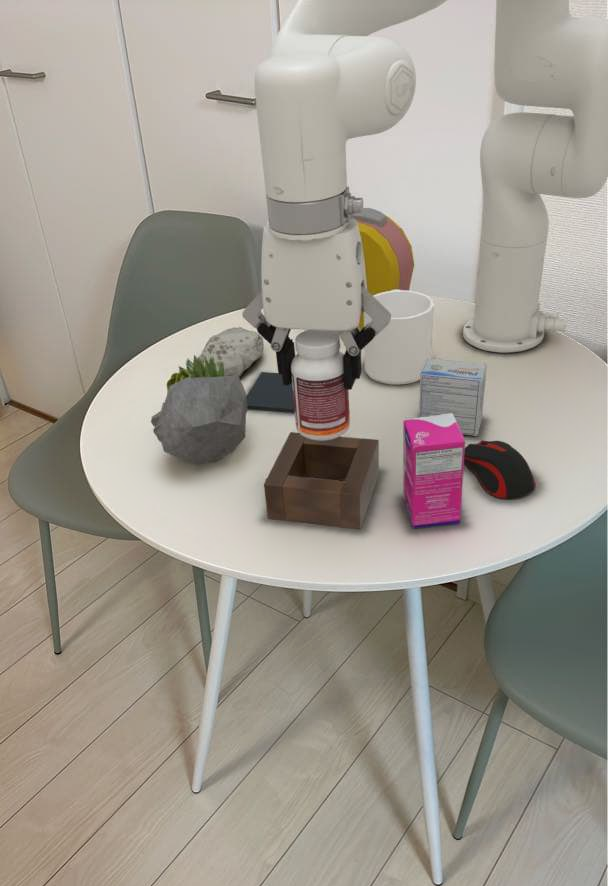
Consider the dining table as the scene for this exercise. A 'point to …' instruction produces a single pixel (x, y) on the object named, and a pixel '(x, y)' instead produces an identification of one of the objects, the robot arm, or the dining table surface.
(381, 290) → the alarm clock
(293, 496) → the holder
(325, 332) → the pill bottle
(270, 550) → the dining table surface
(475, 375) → the medicine box
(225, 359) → the decorative stone
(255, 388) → the mat
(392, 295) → the mug
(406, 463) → the supplement box
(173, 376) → the potted plant
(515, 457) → the computer mouse
